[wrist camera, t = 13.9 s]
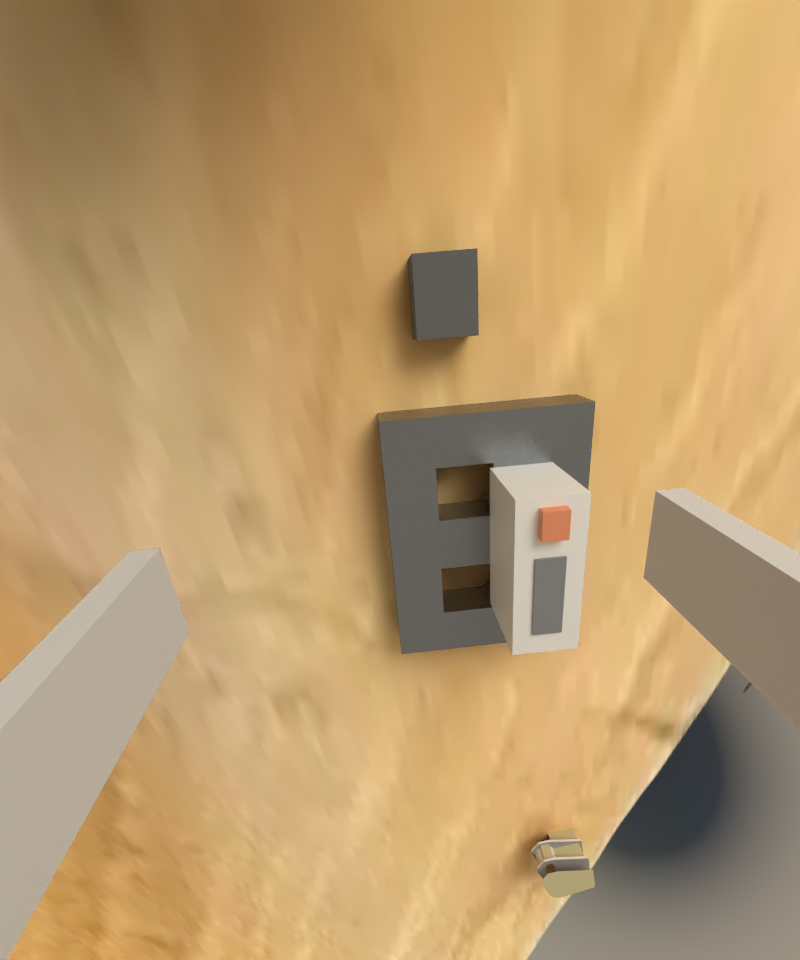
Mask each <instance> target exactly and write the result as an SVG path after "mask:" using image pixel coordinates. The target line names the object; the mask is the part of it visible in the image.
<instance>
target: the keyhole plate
mask: <svg viewBox="0 0 800 960" xmlns="http://www.w3.org/2000/svg"><path fill="white" fill-rule="evenodd" d="M594 411H595V401H593V400H590V399H587V398H585V397H582V396H579V395H565V396H554V397H544V398H533V399H522V400H512V401H501V402H490V403H480V404H469V405H458V406H447V407H437V408H426V409H415V410H405V411H394V412H383V413H378V422H379V432H380V442H381V452H382V462H383V472H384V482H385V492H386V502H387V512H388V522H389V532H390V542H391V552H392V562H393V572H394V582H395V592H396V602H397V612H398V622H399V632H400V642H401V652H402V654H406V653H415V652H424V651H433V650H442V649H451V648H460V647H469V646H478V645H487V644H495V643H504V642H507V641H506V639H505V637H504V634H503V632H502V630H501V627H500V625H499V622H498V620H497V618H496V615H495V613H494V611H493V608H492V606H491V603H490V581H486V582H485V587H475V588H466V589H457V590H447V591H443V588H442V569H445V568H455V567H464V566H473V565H483V564H490V494H484V500H480V501H470V502H460V503H450V504H440V505H438V495H437V476H436V468H447V467H457V466H467V465H477V464H487V463H489V464H490V465H491V466H492V468H495V467H505V466H516V465H526V464H537V463H547V462H553V463H555V464H556V465H557V466H558V467H560V468H561V469H562V470H563V471H565V472H566V473H567V474H568V475H570V476H571V477H572V478H573V479H575V480H576V481H577V482H579V483H580V484H581V485H582V486H584V487H585V488H586V489H587V490H588V484H589V472H590V460H591V448H592V436H593V423H594Z"/></svg>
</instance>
